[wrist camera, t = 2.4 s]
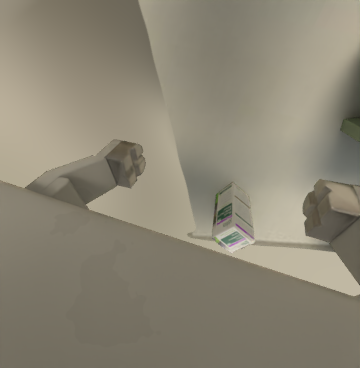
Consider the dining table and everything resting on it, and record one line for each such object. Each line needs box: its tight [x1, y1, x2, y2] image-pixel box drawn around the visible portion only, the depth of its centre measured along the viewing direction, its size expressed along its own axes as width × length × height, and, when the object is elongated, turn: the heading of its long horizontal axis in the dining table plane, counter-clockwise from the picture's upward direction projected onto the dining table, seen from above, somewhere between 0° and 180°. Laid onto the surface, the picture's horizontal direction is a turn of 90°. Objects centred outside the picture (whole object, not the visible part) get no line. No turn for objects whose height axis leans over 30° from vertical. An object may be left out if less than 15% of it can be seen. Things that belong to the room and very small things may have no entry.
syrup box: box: [212, 182, 255, 253], centre depth 39 cm, size 6×6×14 cm
